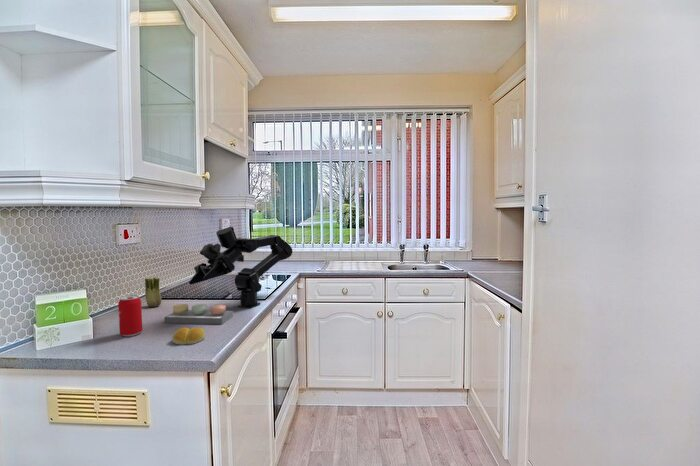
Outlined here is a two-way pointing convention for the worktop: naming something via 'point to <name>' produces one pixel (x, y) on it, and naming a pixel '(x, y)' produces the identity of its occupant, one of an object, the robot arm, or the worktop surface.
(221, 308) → the terracotta button
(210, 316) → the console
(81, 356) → the worktop surface
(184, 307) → the ochre button
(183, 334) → the bread roll
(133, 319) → the beverage can
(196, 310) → the sage button
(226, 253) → the robot arm
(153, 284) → the fennel bulb
